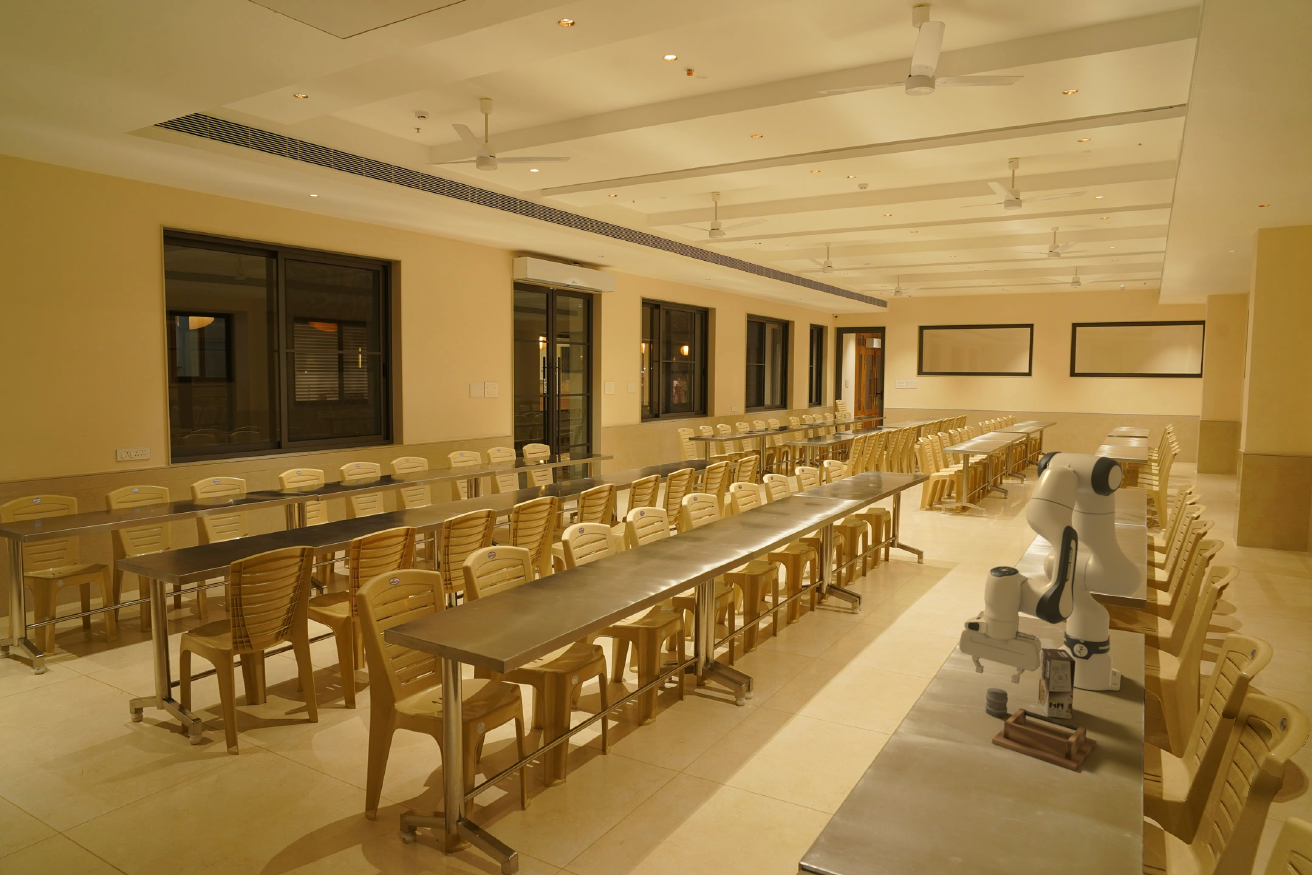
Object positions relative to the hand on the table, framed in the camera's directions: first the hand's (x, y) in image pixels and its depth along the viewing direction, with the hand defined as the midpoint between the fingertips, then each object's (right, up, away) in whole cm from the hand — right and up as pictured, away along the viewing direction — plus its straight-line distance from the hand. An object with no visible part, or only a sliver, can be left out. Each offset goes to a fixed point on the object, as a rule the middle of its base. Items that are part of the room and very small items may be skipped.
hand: (997, 677), depth 208 cm
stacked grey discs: (0, -10, +1) cm, 10 cm away
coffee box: (+17, -10, +3) cm, 20 cm away
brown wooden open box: (+5, -12, -15) cm, 20 cm away
